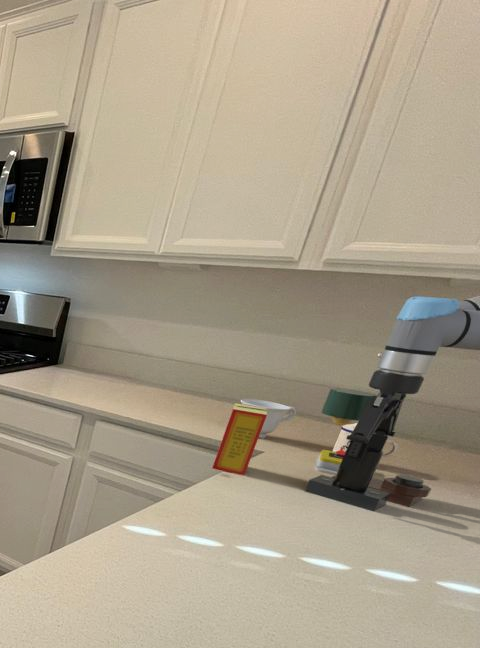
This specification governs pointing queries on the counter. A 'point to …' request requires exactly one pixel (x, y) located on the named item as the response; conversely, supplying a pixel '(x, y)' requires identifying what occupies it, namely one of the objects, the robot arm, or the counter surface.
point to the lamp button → (409, 481)
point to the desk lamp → (346, 405)
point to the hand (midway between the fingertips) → (357, 465)
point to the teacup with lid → (343, 442)
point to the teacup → (271, 414)
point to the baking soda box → (240, 438)
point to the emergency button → (329, 461)
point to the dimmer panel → (347, 493)
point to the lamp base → (399, 491)
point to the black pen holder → (359, 472)
